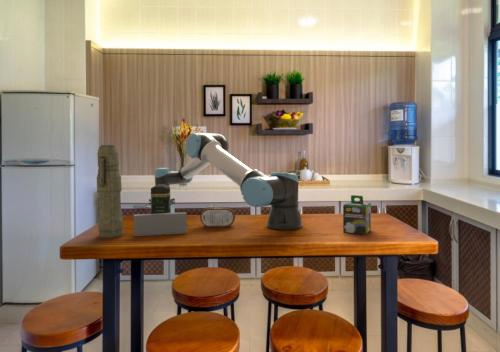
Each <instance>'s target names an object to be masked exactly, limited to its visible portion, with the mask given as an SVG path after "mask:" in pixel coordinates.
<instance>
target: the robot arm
mask: <svg viewBox="0 0 500 352" xmlns="http://www.w3.org/2000/svg"><path fill="white" fill-rule="evenodd" d="M229 146H230V145H229V142H228V139H227V138H226V137H225V136H224V135H223V134H220V133H215V132H199V131H197V132H192V133H190V134H189V135H188V136H187V138H186V142H185V150H186V151H185V152H186V154H187V156H188V157H189V158H190V159H191V160H190V161H189V162H187V163H186V165H184V166H182V167H181V168H180V169H179V170H170V169H169V167H156V168H155V169H154V183H155V185H154V186H156V185H158V184H166V185H167V186H169V187H170V186H171V185H181V184H183V185H184V184H188V183H189V184H190V183H191V182H192V181H193V177H194V176H196V175H198V174H199V173H200V172H201V171H203V170H204V169H206V168H207V167H208V166H210V165H211V166H213V167H215V168H216V169H217V170H218V171H219V172H221V173H222V174H223V175H225V176H226V177H227V178H229V180H231V181H232V182H234V183H235V184H236V185H237V186H239V189H240V192H241V193H240V194H241V196H243V197H242V199H243V201H244V202H245V203H246V204H247V205H249V206H250V207H254V208H263V207H267V206H270V211H269V215H268V217H267V220H266V227H267V228H270V229H273V230H282V231H283V230H285V231H286V230H287V231H289V230H291V231H292V230H298V229H301V228H302V227H303V220H302V217H301V214H300V209H299V176H298V175H297V174H296V173H289V172H279V171H277V172H276V171H275V172H274V171H272V172H271V173H270V175H269V176H268V175H266V174H265V173H263V172H262V171H260V170H259V169H251V168H250V167H249V166H247V165H246V164H245V163H243V162H242V161H240V160H239V159H237V157H234V156H233V155H232V154H230V153H229V152H228V151H229ZM175 204H176V199H175V197H173V198H170V207H171V206H172V205H175ZM148 205H150V206H151V198H149V199H148Z"/></svg>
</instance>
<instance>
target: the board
mask: <svg viewBox="0 0 500 352" xmlns="http://www.w3.org/2000/svg"><path fill="white" fill-rule="evenodd" d="M187 215H188V214H187V212H186V211H184V212H183V211H182V212H181V211H180V212H171V213H158V214H151V213H142V214H139V213H138V214H133V236H134V237H143V236H144V237H146V236H147V237H148V236H163V235H164V234H165V235H179V234H181V235H182V234H187V233H188V229H187V228H188V224H187V223H188V221H187V220H188V219H187Z"/></svg>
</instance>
